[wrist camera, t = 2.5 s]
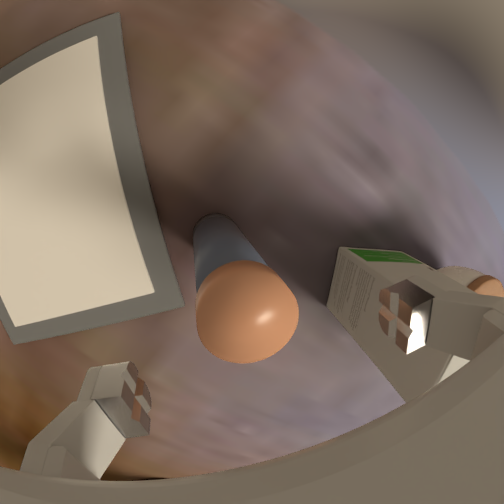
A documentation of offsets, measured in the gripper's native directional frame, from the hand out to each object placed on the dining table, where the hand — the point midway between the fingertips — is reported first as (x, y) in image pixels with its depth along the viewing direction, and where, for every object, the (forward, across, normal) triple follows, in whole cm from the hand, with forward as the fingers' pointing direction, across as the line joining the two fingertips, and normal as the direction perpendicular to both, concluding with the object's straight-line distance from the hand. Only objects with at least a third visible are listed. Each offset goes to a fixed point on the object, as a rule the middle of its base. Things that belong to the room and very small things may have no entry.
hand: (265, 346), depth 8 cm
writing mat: (+15, -14, +8) cm, 22 cm away
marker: (+15, 0, 0) cm, 16 cm away
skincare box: (+16, +13, -8) cm, 22 cm away
